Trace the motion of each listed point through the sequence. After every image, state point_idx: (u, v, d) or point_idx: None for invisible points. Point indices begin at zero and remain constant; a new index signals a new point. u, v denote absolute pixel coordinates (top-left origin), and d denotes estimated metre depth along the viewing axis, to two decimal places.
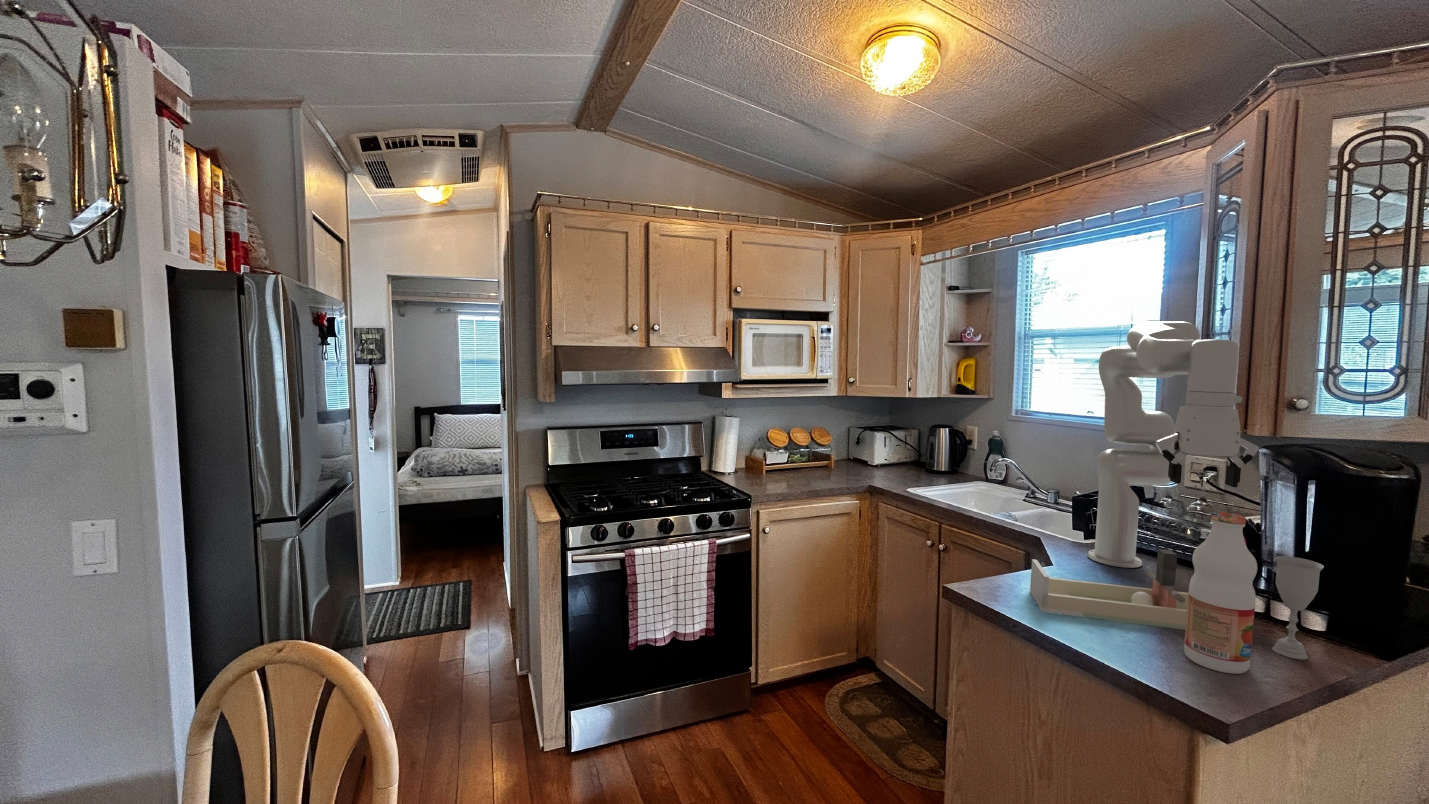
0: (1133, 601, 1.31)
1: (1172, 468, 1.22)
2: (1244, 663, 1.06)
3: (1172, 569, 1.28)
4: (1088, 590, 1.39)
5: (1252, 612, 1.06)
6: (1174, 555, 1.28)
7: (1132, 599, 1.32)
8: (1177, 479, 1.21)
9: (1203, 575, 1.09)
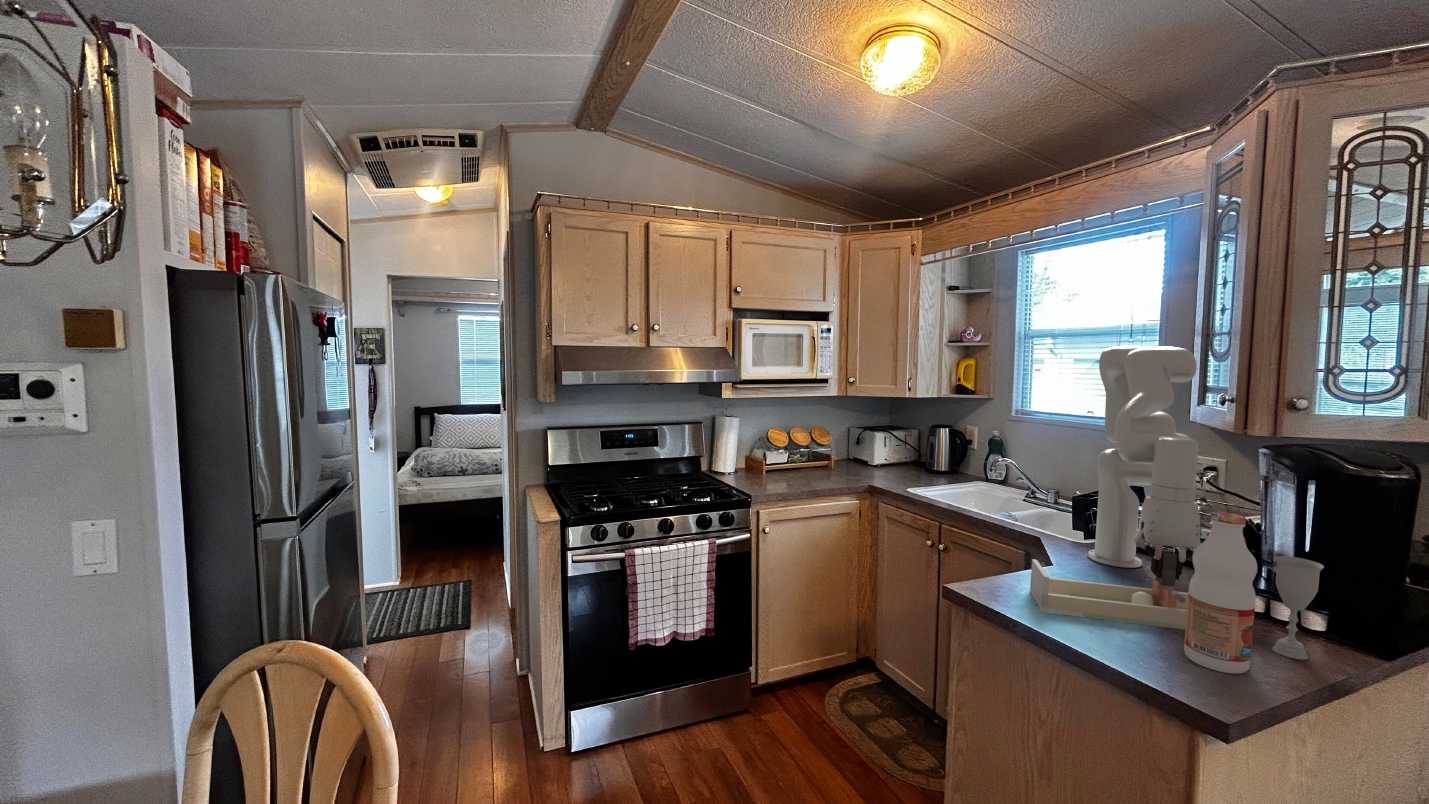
0: (1133, 601, 1.31)
1: (1154, 563, 1.29)
2: (1244, 663, 1.06)
3: (1172, 569, 1.28)
4: (1088, 590, 1.39)
5: (1252, 612, 1.06)
6: (1174, 555, 1.28)
7: (1132, 599, 1.32)
8: (1159, 574, 1.29)
9: (1203, 575, 1.09)
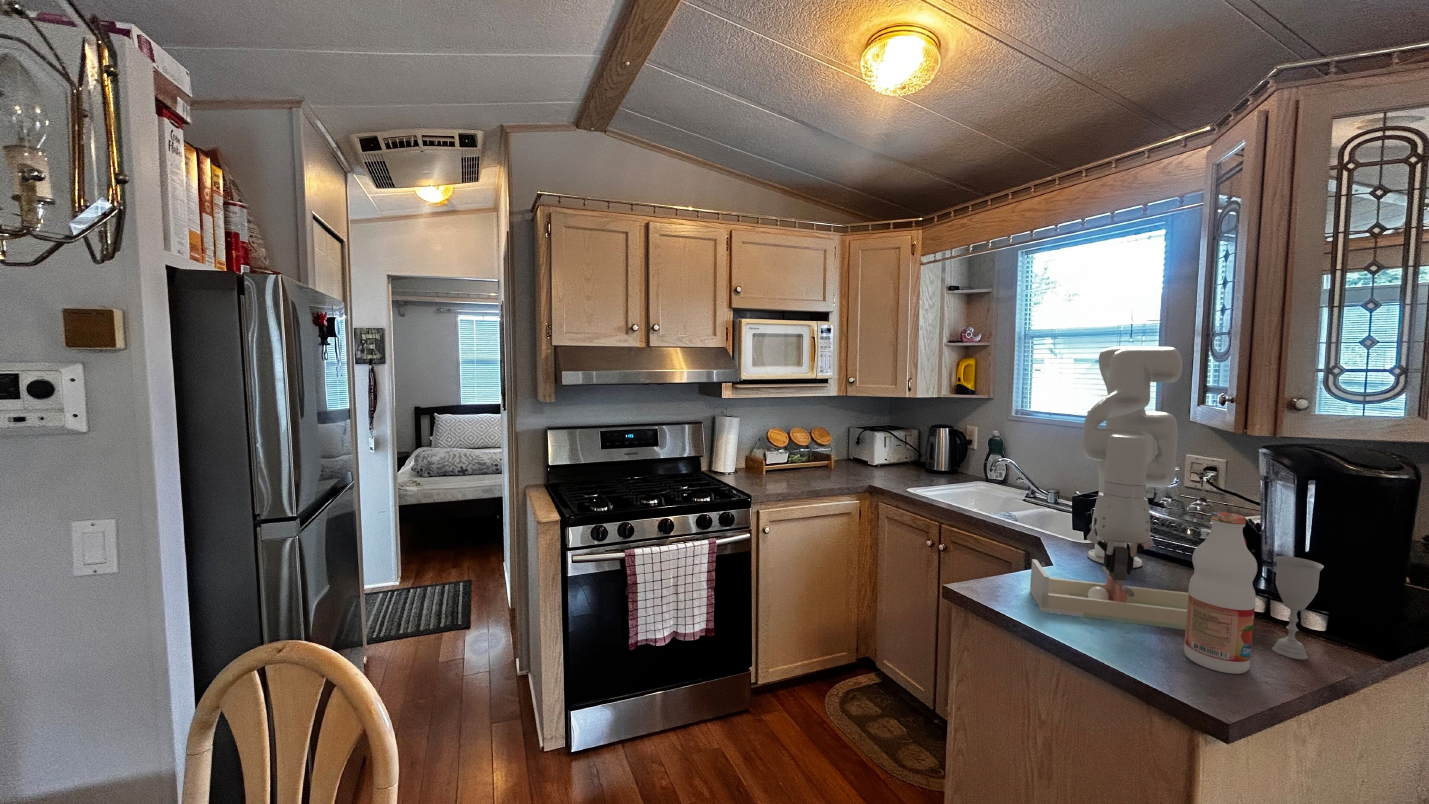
0: (1103, 589, 1.33)
1: (1107, 558, 1.32)
2: (1244, 663, 1.06)
3: (1124, 564, 1.30)
4: (1088, 590, 1.39)
5: (1252, 612, 1.06)
6: (1125, 550, 1.30)
7: (1104, 589, 1.33)
8: (1111, 569, 1.31)
9: (1203, 575, 1.09)
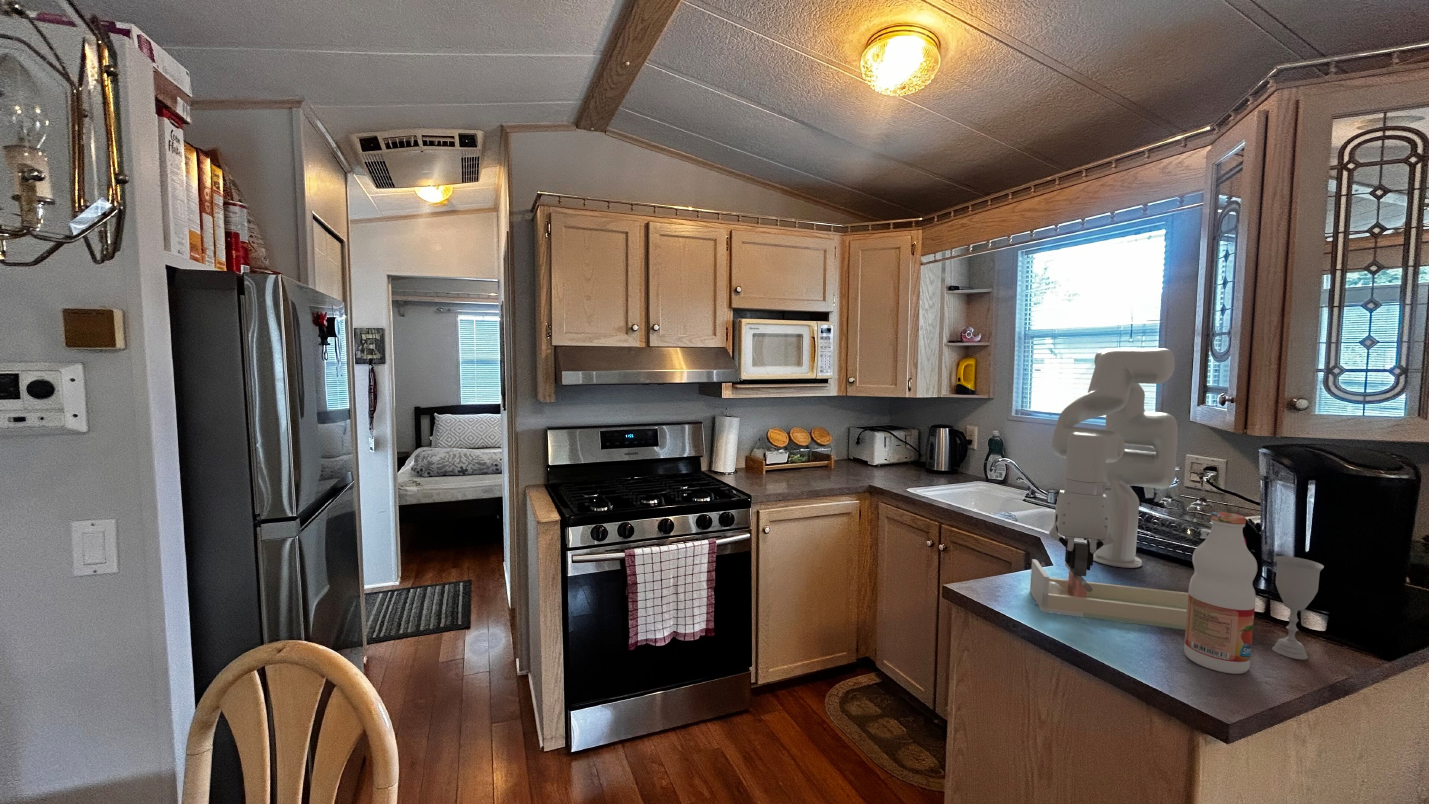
0: None
1: (1067, 554, 1.34)
2: (1244, 663, 1.06)
3: (1084, 560, 1.33)
4: None
5: (1252, 612, 1.06)
6: (1085, 546, 1.32)
7: None
8: (1071, 565, 1.33)
9: (1203, 575, 1.09)
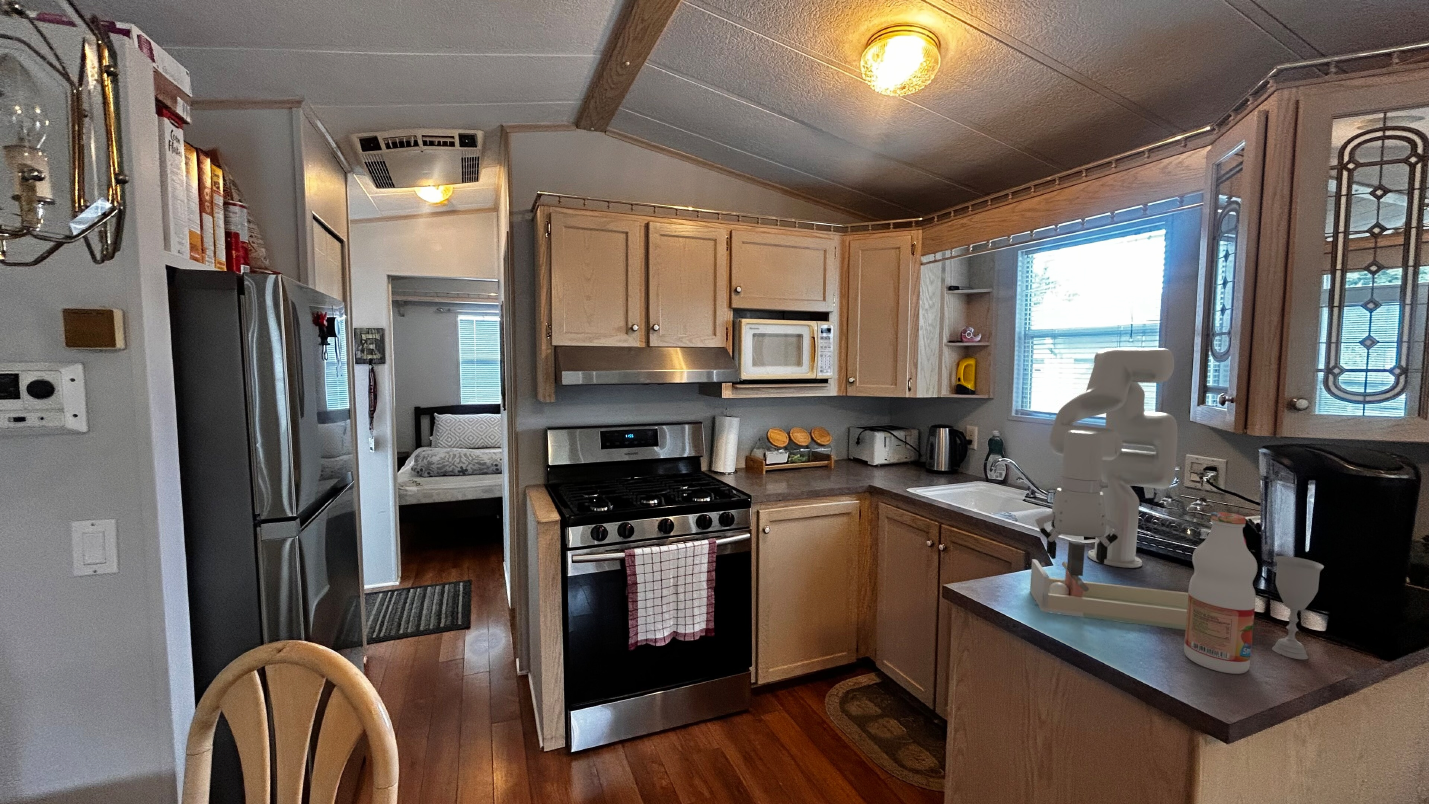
0: None
1: (1049, 545, 1.35)
2: (1244, 663, 1.06)
3: (1080, 560, 1.33)
4: (1088, 590, 1.39)
5: (1252, 612, 1.06)
6: (1082, 546, 1.33)
7: None
8: (1052, 555, 1.35)
9: (1203, 575, 1.09)
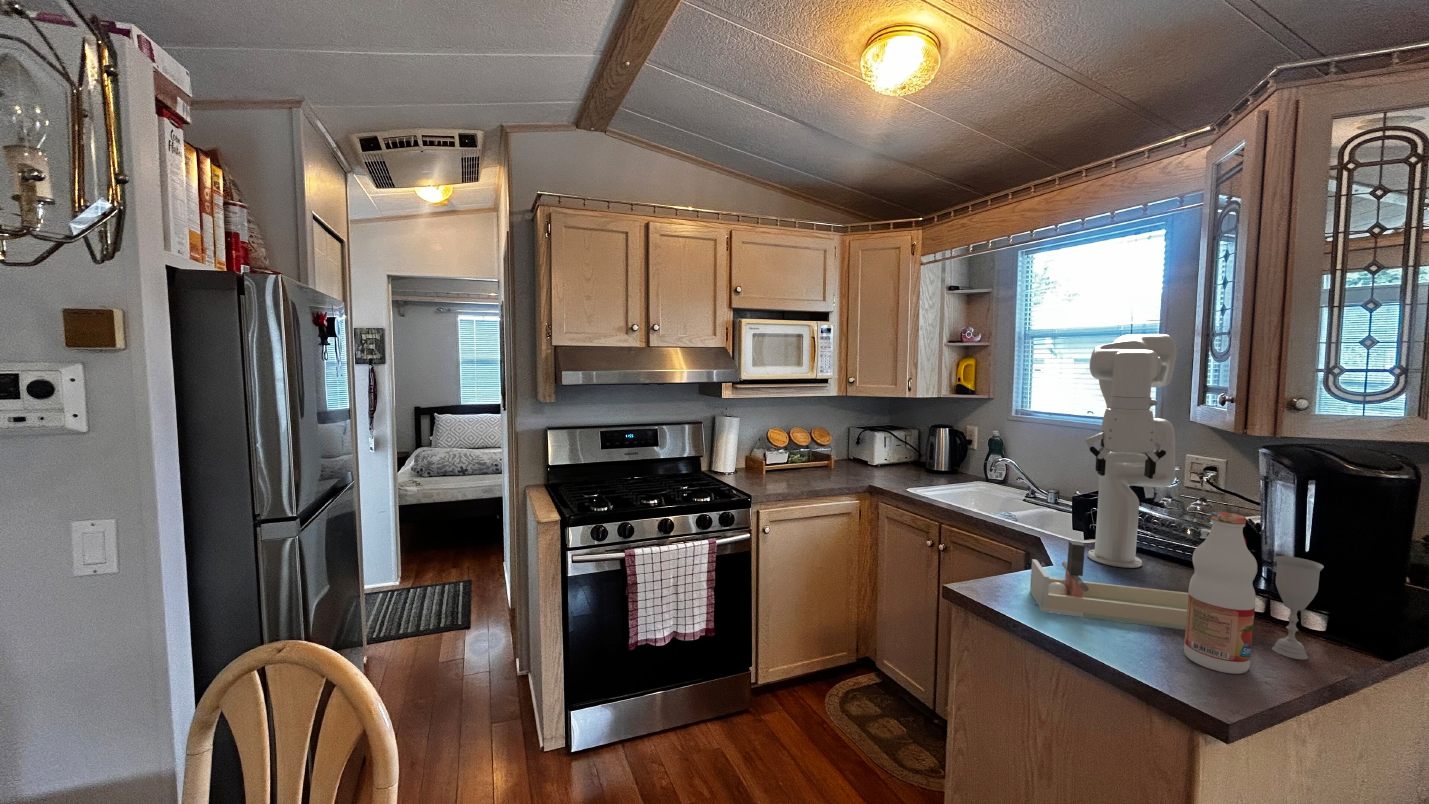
0: None
1: (1098, 462, 1.41)
2: (1244, 663, 1.06)
3: (1080, 560, 1.33)
4: (1088, 590, 1.39)
5: (1252, 612, 1.06)
6: (1082, 546, 1.33)
7: None
8: (1102, 472, 1.41)
9: (1203, 575, 1.09)
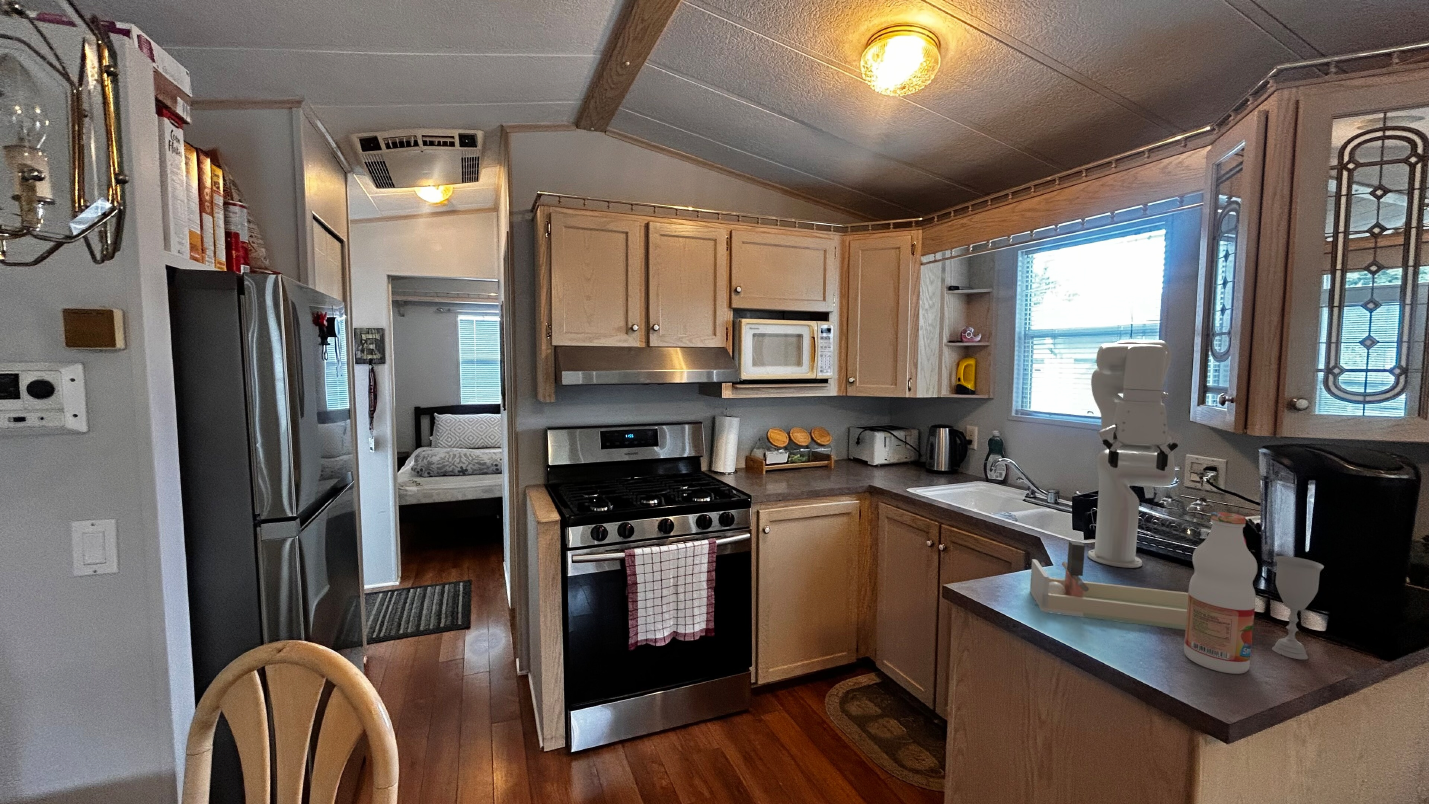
0: None
1: (1111, 455, 1.43)
2: (1244, 663, 1.06)
3: (1080, 560, 1.33)
4: (1088, 590, 1.39)
5: (1252, 612, 1.06)
6: (1082, 546, 1.33)
7: None
8: (1115, 464, 1.42)
9: (1203, 575, 1.09)
